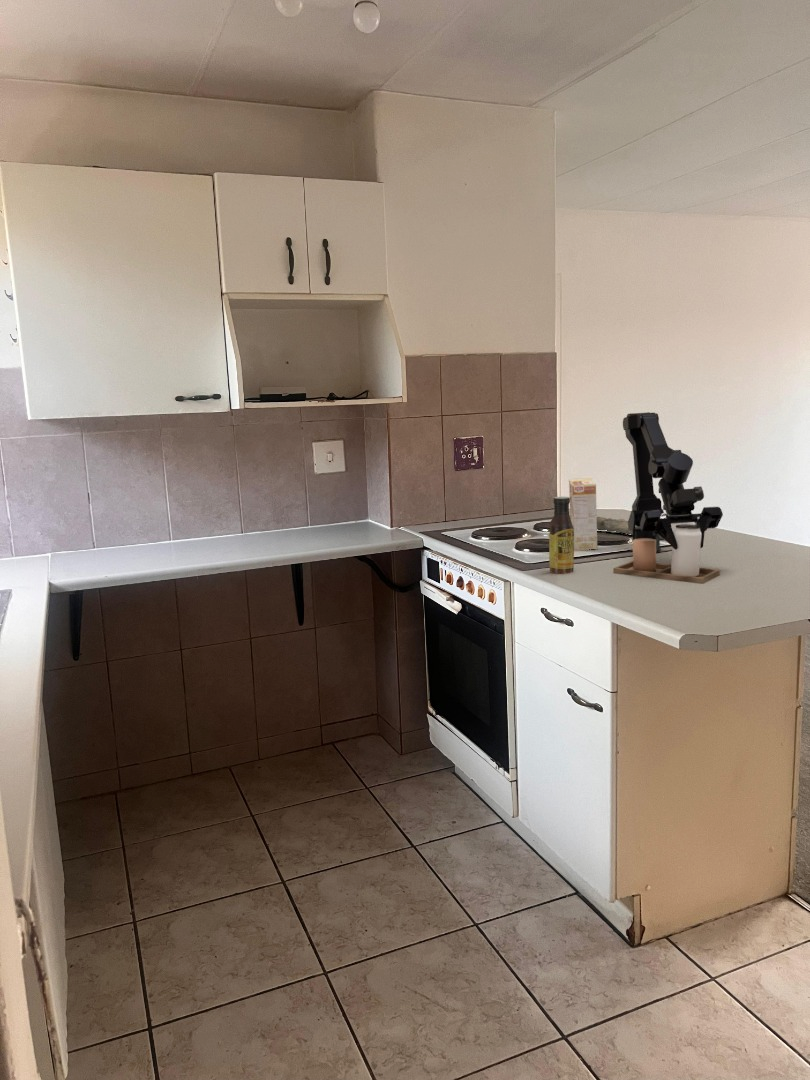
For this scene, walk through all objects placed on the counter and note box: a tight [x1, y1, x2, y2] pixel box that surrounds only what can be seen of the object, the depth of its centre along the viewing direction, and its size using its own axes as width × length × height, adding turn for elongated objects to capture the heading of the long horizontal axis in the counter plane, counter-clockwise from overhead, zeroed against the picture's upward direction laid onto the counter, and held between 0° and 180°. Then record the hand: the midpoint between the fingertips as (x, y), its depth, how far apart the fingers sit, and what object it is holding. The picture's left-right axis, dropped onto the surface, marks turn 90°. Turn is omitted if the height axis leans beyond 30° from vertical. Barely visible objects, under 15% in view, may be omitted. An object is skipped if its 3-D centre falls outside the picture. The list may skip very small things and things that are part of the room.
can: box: [670, 523, 702, 577], centre depth 196 cm, size 6×6×12 cm
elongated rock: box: [597, 516, 674, 539], centre depth 258 cm, size 35×5×10 cm
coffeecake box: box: [568, 477, 598, 551], centre depth 242 cm, size 15×7×20 cm, turn 172°
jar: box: [632, 538, 657, 572], centre depth 203 cm, size 6×6×8 cm
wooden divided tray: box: [612, 560, 721, 585], centre depth 200 cm, size 23×10×2 cm, turn 47°
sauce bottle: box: [548, 496, 575, 575], centre depth 208 cm, size 6×6×20 cm
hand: (689, 547), depth 193 cm, fingers closed on can, 6 cm apart
